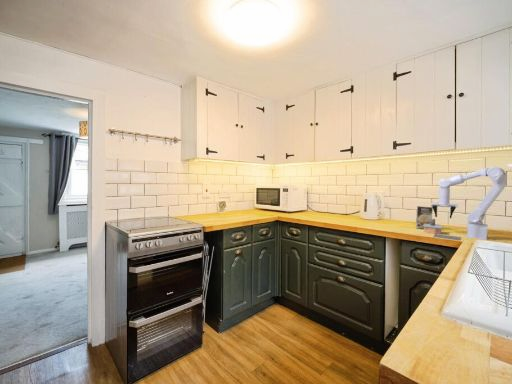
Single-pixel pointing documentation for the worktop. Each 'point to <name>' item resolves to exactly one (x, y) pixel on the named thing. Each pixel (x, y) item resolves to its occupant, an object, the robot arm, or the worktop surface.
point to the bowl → (432, 230)
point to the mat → (447, 237)
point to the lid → (433, 224)
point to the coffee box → (423, 216)
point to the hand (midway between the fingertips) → (443, 217)
